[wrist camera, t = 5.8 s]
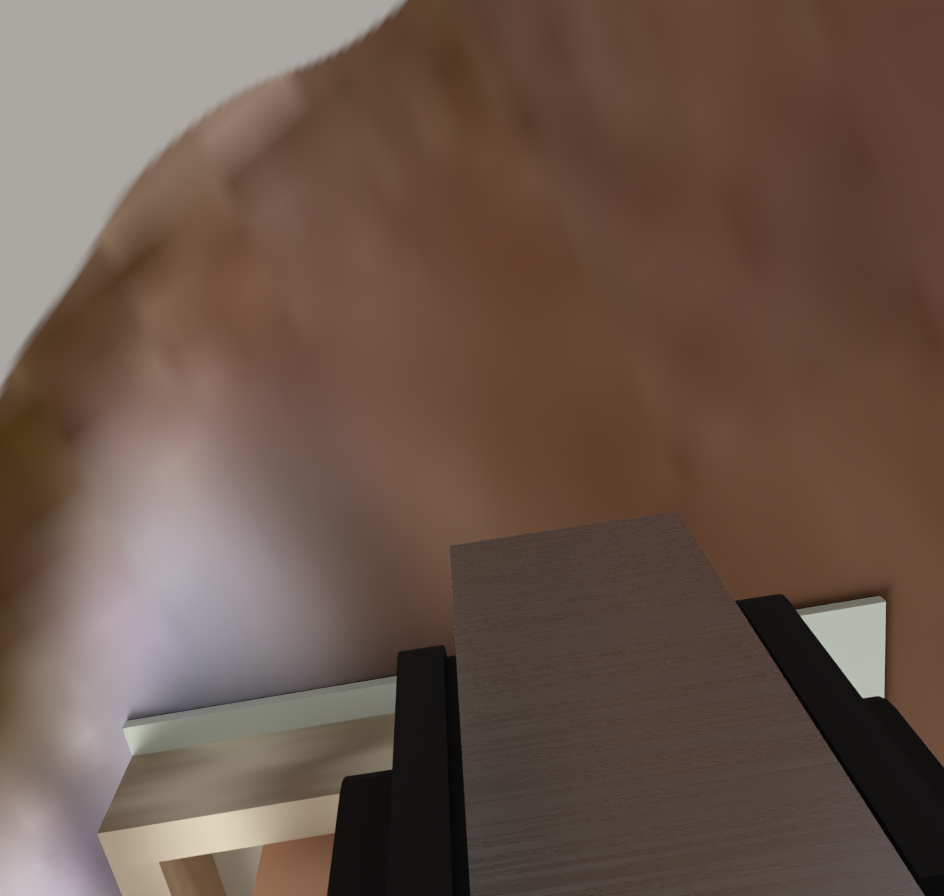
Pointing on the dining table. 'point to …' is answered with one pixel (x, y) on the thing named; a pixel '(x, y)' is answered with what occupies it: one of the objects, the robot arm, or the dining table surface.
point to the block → (295, 867)
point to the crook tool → (640, 730)
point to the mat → (835, 625)
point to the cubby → (232, 801)
